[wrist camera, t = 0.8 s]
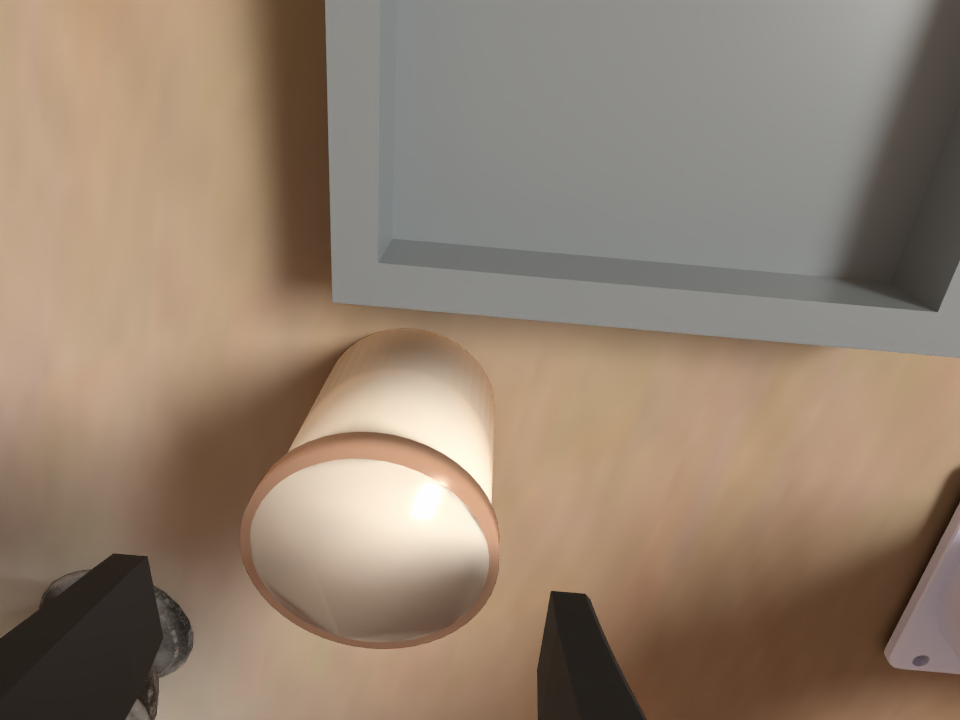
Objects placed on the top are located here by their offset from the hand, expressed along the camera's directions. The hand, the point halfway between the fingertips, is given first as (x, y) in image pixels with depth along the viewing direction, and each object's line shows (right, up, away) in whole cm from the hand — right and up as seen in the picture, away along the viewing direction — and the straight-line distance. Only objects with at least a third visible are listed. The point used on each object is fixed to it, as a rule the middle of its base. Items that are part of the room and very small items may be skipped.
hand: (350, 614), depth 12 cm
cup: (0, +3, +7) cm, 7 cm away
